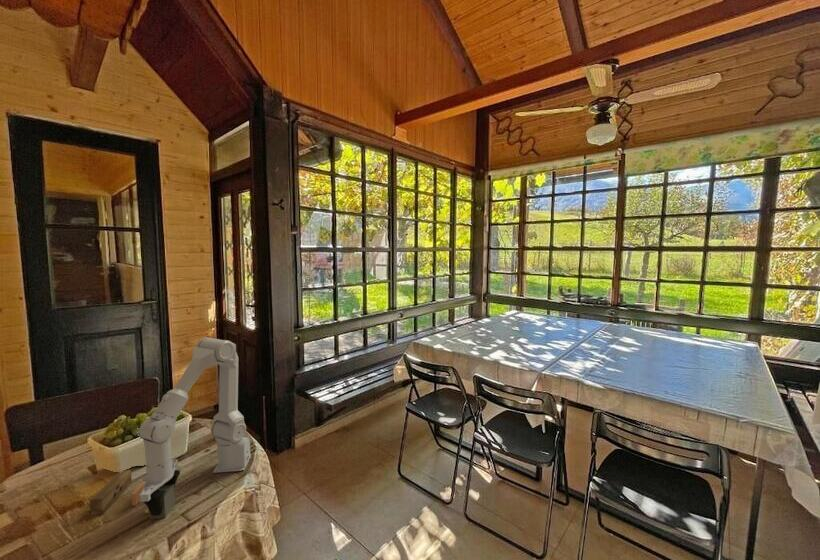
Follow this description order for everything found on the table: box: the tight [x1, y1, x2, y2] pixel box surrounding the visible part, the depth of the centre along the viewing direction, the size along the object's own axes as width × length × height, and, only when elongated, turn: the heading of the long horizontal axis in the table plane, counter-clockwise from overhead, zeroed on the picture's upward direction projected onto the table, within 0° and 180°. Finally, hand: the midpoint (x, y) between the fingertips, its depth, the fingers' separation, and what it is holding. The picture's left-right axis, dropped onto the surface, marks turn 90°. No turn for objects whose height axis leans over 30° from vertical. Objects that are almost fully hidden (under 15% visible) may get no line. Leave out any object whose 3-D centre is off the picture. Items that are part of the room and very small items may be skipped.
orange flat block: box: [130, 480, 146, 506], centre depth 102 cm, size 1×8×4 cm, turn 8°
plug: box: [144, 485, 176, 520], centre depth 96 cm, size 6×5×6 cm
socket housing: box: [89, 469, 133, 516], centre depth 101 cm, size 3×12×4 cm, turn 8°
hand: (162, 506), depth 97 cm, fingers closed on plug, 5 cm apart
